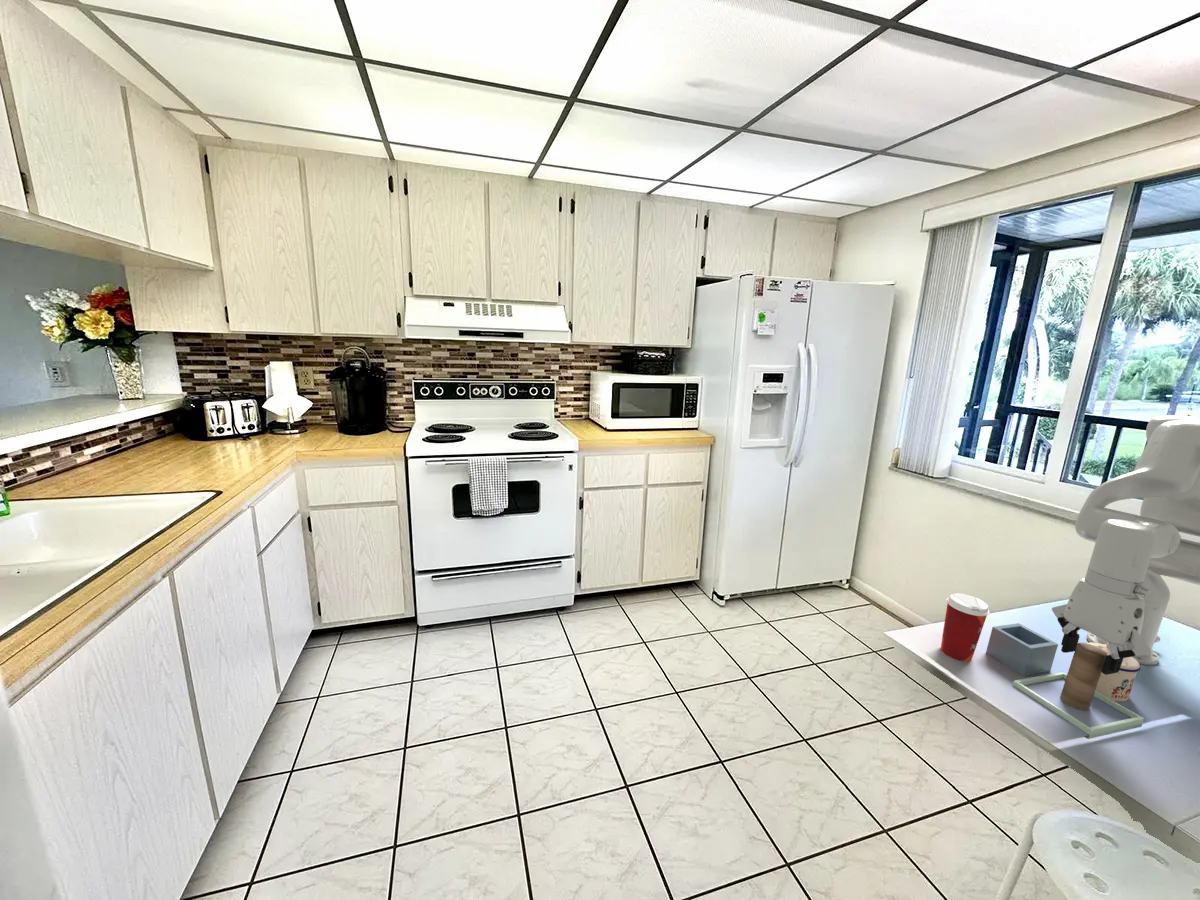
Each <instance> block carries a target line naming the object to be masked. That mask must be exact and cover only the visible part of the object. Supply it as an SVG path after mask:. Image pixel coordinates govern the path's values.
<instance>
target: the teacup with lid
mask: <svg viewBox="0 0 1200 900" xmlns="http://www.w3.org/2000/svg"><path fill="white" fill-rule="evenodd" d="M1086 643H1087V644H1091V645H1094V646H1096V647H1098V648H1100V649H1102V650H1104V651H1105V652H1106V653H1107V655H1110V654H1111V653H1110V649H1109V644H1108V643H1107V644H1099V643H1090V642H1086ZM1140 670H1141V664H1139V663H1138V661H1137V660H1136V659H1134V658H1133V657H1127V658H1123V661H1122V664H1121V667H1120V670H1119V672H1117V673H1113V674H1108V675H1105V674H1103V673H1102V672H1101V675H1100V678H1099V681H1098V684H1097V687H1096V691H1097V692H1099V693H1101V694H1103V695H1104V696H1106V697H1108V698H1110V699H1111V700H1113V701H1115V702H1126V701H1128V700H1129V697H1130V694H1131V692H1132V688H1133V686H1134V683H1135V679H1136V676H1137V674H1138V672H1139V671H1140Z"/></svg>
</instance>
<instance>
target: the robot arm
mask: <svg viewBox="0 0 1200 900" xmlns="http://www.w3.org/2000/svg"><path fill="white" fill-rule="evenodd" d="M1146 425H1147V426H1146V429H1145V432H1146V433H1145V435H1146V442H1147V443H1146V445H1145V447H1144V448H1143V451H1142V453H1141V455H1140V457H1139V459H1138V461H1137V462H1136V465H1135V467H1134V469H1133V471H1131V472H1126V473H1124V474H1121V475H1119V476H1114V477H1113V478H1111V479H1109V480H1107V481H1105V482H1102V483H1100V484H1099V485H1098V486H1096V487H1095V488H1094V489H1093V490H1092V491H1091V492H1090V493H1089V494H1088V496H1087V498H1086V499H1085V502H1084V503H1083V505H1082V507H1081V509H1080V511H1079V512H1078V515H1077V517H1076V521H1075V523H1074V525H1075V526H1074V528H1075V531H1076V534H1077V535H1078V536H1079V537H1081V538H1082V539H1084V540H1087V541H1089V542H1093V543H1094V547H1093V550H1092V554H1091V557H1090V560H1089V563H1088V567H1087V570H1086V574H1085V577H1083V578H1080V580H1079V581H1078V582H1077V584H1076V586H1075V587H1074V589H1073V590H1072V592H1071V595H1070V596H1069V599H1068V601H1067V603H1065V604H1062V605H1057V606H1053V607H1052V608H1051V611H1052V612H1053V614H1054V615H1055V617H1056V619H1057V622H1058V624H1059V625H1060V627H1061V631H1062V633H1063V636H1062V640H1061V643H1060V644H1061V649H1060V651H1061V652H1062V653H1066V654H1067V653H1072V652H1073V653H1074V652H1075V649H1076V646H1077V643H1079V640H1080V638H1081V637H1080V634H1079V633H1078V632H1079V631H1080V630H1083V631H1085V632H1087V634H1086V640H1087V642H1088V643H1099V644H1107V643H1108V644H1109V649H1110V653H1111V654H1110V655H1107V656H1106V658H1105V661H1104V664H1103V667H1102V670H1101V672H1102V673H1103V674H1105V675H1108V674H1113V673H1117V672H1119V670H1120V667H1121V664H1122V661H1123V658H1127V657H1133V658H1134V659H1136V660H1137V661H1138V663H1139V665H1148V666H1151V665H1156V664H1158V663H1159V662H1160V656H1159V654H1157V653H1156V652H1155V651H1154V650H1153V647H1154V645H1155V643H1160V642H1161V637H1160V636H1159V635H1158V634H1159V630H1160V628H1161V624H1162V621H1163V618H1164V615H1165V613H1166V609H1167V607H1168V604H1169V601H1170V598H1171V592H1170V588H1169V586H1168V584H1167V583H1166V582H1165V580H1164V579H1163V577H1168V578H1172V579H1175V580H1179V581H1183V582H1186V583H1189V584H1193V585H1197V586H1200V542H1198V541H1193V540H1189V539H1185V538H1181V537H1182V536H1181V533H1183V534H1185V535H1186V534H1187V535H1191V536H1195V537H1200V417H1198V416H1188V415H1186V416H1185V415H1160V416H1155V417H1153V418H1151V419H1150V421H1149V422H1148V423H1147V424H1146ZM1130 499H1143V500H1142V502H1141V506H1140V512H1139V514H1140V515H1138V514H1133V513H1129V512H1126V511H1121V510H1115V509H1111V508H1106V507H1107V506H1108V505H1110V504H1112V503H1115V502H1119V501H1123V500H1130ZM1162 576H1163V577H1162Z"/></svg>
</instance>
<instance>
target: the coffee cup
mask: <svg viewBox="0 0 1200 900" xmlns="http://www.w3.org/2000/svg"><path fill="white" fill-rule="evenodd" d="M945 601H946V609H945V610H946V612H945V616H944V617H945V618H944V623H943V630H942V635H941V636H942V637H941V644H940V650H941V652H942V653H944V655H946V656H947V657H949V658H952V659H954V660H955V661H961V662H965V663H967V662H971V661H972V659H973V658H974V654H975V651H976V648H977V646H978V643H979V641H980V638H981V634H982V630H983V629H984V625H985V622H986V620H987V619H986V618H987V617H988V616H989V615H990V614H991V613H990V612H991V611H990V610H989V605H988V604H987V603H986V602H985V601H983V600H982V599H980V598H978V597H976V596H972V595H969V594H966V593H958V592H957V593H956V592H955V593H952V594H950V595H949V597H947V598H946V600H945Z"/></svg>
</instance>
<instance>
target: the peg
mask: <svg viewBox="0 0 1200 900" xmlns="http://www.w3.org/2000/svg"><path fill="white" fill-rule="evenodd" d="M1087 643H1088V642H1078V643H1077V646H1076V649H1075V651H1074V652H1073V656H1072V659H1071V662H1070V665H1069V667H1068V672H1067V673H1066V674H1067V677H1066V680H1065V679H1064V683H1063V688H1062V689H1061V693H1060V696H1059V698H1060V700H1061V701H1062V702H1063V703H1065V704H1066V705H1068V707H1069V706H1070V707H1072V708H1074V709H1076V710H1079V711H1084V712H1085V711H1089V709H1090V707H1091V704H1092V702H1093V698H1094V697H1095V696H1094V693H1095V690H1096V687H1097V684H1098V681H1099V678H1100V675H1101V670H1102V667H1103V664H1104V661H1105V658H1106V656H1107V653H1106V652H1105V651H1104V650H1102V649H1100V648H1098V647H1096V646H1094V645H1091V644H1087Z"/></svg>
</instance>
